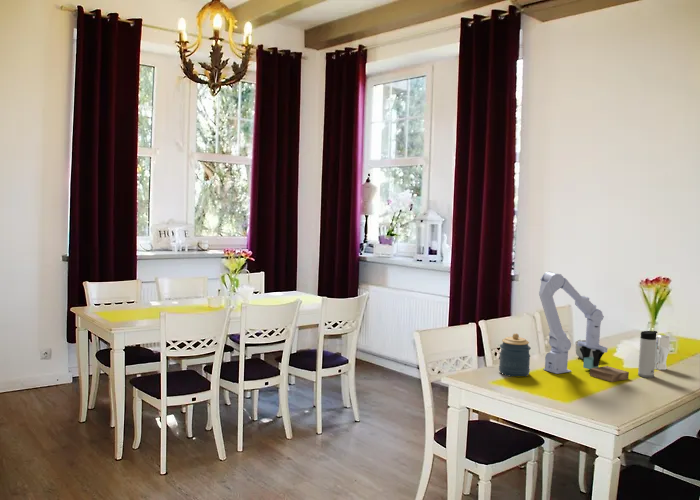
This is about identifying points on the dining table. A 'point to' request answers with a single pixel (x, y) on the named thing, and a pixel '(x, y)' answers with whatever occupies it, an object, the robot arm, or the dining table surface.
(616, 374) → the walnut base
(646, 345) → the travel mug
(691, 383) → the dining table surface
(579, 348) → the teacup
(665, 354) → the beer glass
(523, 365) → the canister
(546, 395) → the dining table surface
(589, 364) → the teal cube
